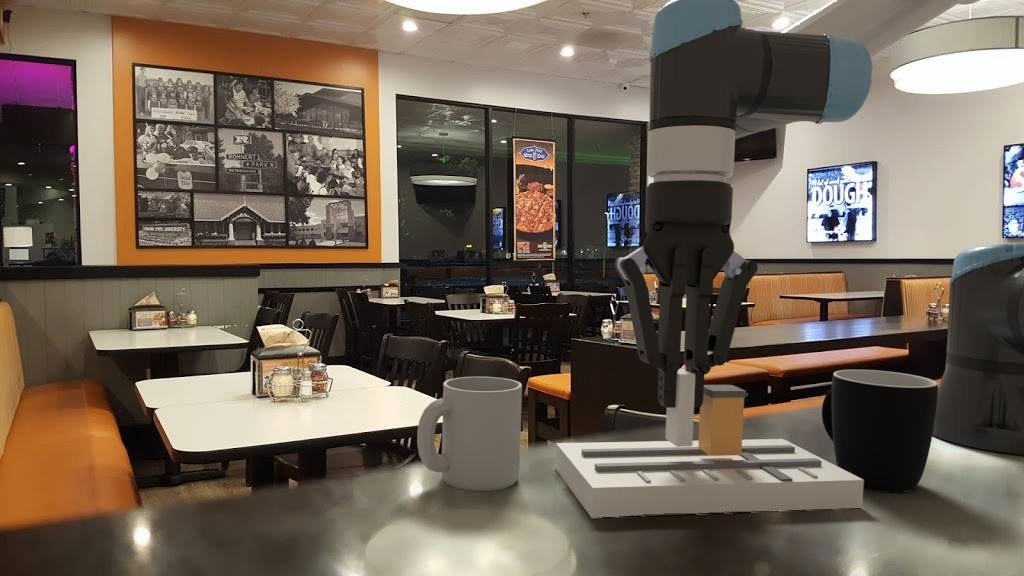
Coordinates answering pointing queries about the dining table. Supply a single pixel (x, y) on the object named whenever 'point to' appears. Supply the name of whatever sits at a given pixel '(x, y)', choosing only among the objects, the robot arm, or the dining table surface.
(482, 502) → the dining table surface
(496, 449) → the cup
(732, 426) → the fader cap
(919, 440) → the mug
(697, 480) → the console
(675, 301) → the robot arm
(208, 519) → the dining table surface
